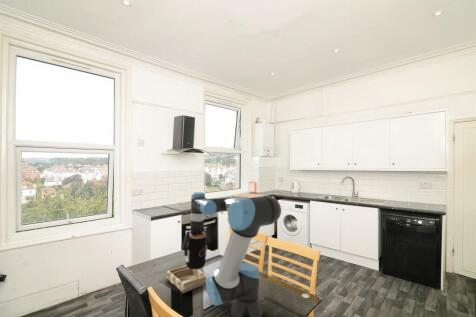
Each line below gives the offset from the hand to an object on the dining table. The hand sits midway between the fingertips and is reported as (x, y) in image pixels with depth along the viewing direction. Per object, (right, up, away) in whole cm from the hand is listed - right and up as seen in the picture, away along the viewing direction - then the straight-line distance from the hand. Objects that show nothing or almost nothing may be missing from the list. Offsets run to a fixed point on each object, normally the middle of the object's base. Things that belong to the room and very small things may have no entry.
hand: (196, 258), depth 133 cm
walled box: (-8, -18, +10) cm, 22 cm away
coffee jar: (0, -4, 0) cm, 4 cm away
